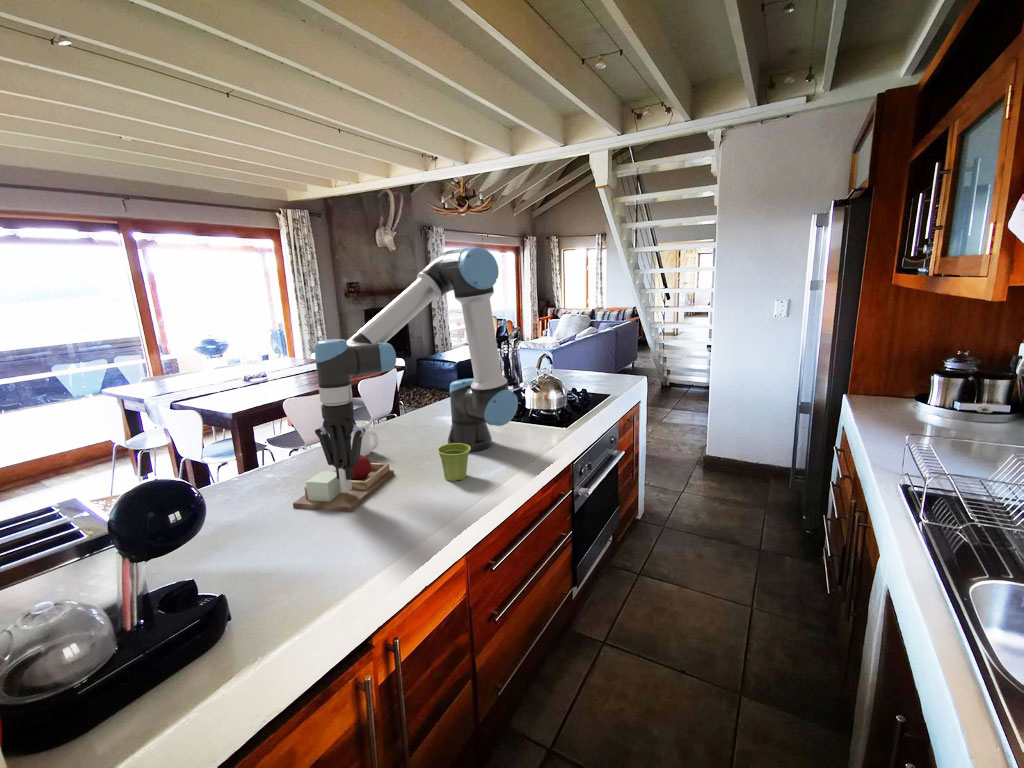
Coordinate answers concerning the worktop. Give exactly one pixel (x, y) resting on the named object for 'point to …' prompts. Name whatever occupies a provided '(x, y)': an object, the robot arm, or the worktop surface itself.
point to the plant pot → (454, 460)
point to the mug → (366, 438)
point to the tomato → (361, 468)
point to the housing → (323, 486)
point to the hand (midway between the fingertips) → (346, 490)
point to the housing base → (352, 497)
